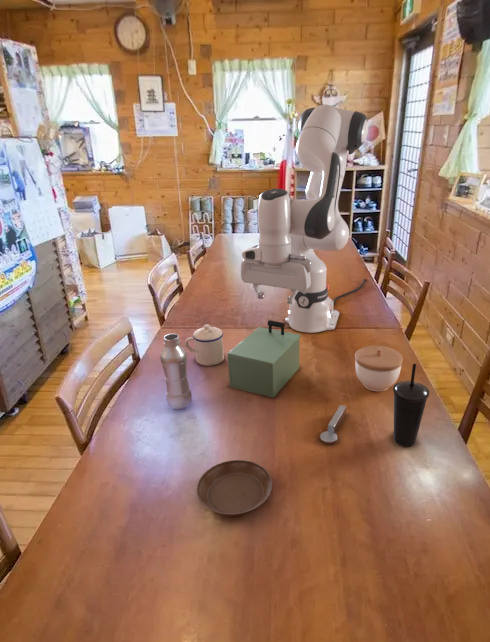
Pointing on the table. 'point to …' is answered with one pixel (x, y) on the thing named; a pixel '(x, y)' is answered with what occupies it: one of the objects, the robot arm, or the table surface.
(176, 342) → the silver metal bottle
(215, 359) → the teacup with lid
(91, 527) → the table surface
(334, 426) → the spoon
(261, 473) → the saucer
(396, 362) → the lidded bowl
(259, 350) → the bin lid
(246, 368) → the bin
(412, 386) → the drinking cup
